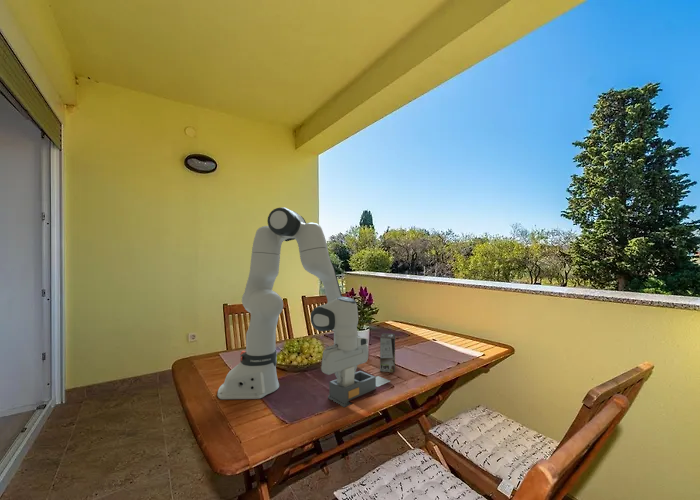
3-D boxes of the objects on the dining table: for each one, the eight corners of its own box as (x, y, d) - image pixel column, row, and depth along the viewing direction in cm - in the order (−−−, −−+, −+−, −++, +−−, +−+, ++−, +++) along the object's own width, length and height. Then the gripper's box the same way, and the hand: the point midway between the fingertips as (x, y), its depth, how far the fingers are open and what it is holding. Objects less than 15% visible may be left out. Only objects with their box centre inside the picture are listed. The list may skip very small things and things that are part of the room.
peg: (345, 392, 106) (345, 369, 106) (337, 388, 109) (337, 366, 109) (354, 388, 108) (354, 366, 109) (346, 384, 112) (346, 363, 112)
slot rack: (344, 407, 102) (344, 389, 102) (328, 398, 109) (328, 381, 109) (392, 385, 120) (392, 370, 120) (376, 378, 126) (376, 364, 126)
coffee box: (394, 375, 129) (394, 338, 130) (379, 374, 131) (379, 337, 131) (395, 368, 138) (395, 333, 139) (381, 367, 140) (381, 332, 140)
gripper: (329, 349, 100) (328, 391, 99) (371, 338, 113) (370, 375, 113) (317, 345, 104) (317, 385, 104) (359, 335, 118) (359, 370, 118)
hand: (345, 379), depth 109 cm, fingers closed on peg, 4 cm apart
